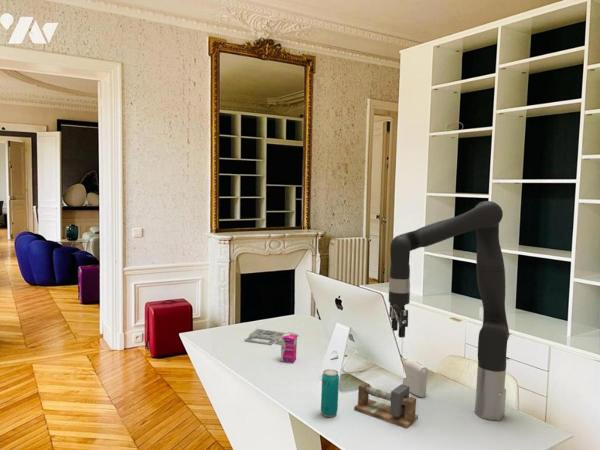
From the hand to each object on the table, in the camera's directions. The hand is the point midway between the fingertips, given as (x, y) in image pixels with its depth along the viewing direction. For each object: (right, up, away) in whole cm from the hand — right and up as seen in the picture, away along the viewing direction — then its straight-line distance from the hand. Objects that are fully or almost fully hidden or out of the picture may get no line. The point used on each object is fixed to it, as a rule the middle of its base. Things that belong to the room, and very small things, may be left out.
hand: (397, 333), depth 182 cm
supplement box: (-41, -21, +39) cm, 60 cm away
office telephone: (-51, -18, +69) cm, 88 cm away
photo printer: (+8, -25, +10) cm, 28 cm away
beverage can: (-26, -26, -11) cm, 38 cm away
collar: (-2, -24, -13) cm, 27 cm away
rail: (-6, -26, -10) cm, 28 cm away
